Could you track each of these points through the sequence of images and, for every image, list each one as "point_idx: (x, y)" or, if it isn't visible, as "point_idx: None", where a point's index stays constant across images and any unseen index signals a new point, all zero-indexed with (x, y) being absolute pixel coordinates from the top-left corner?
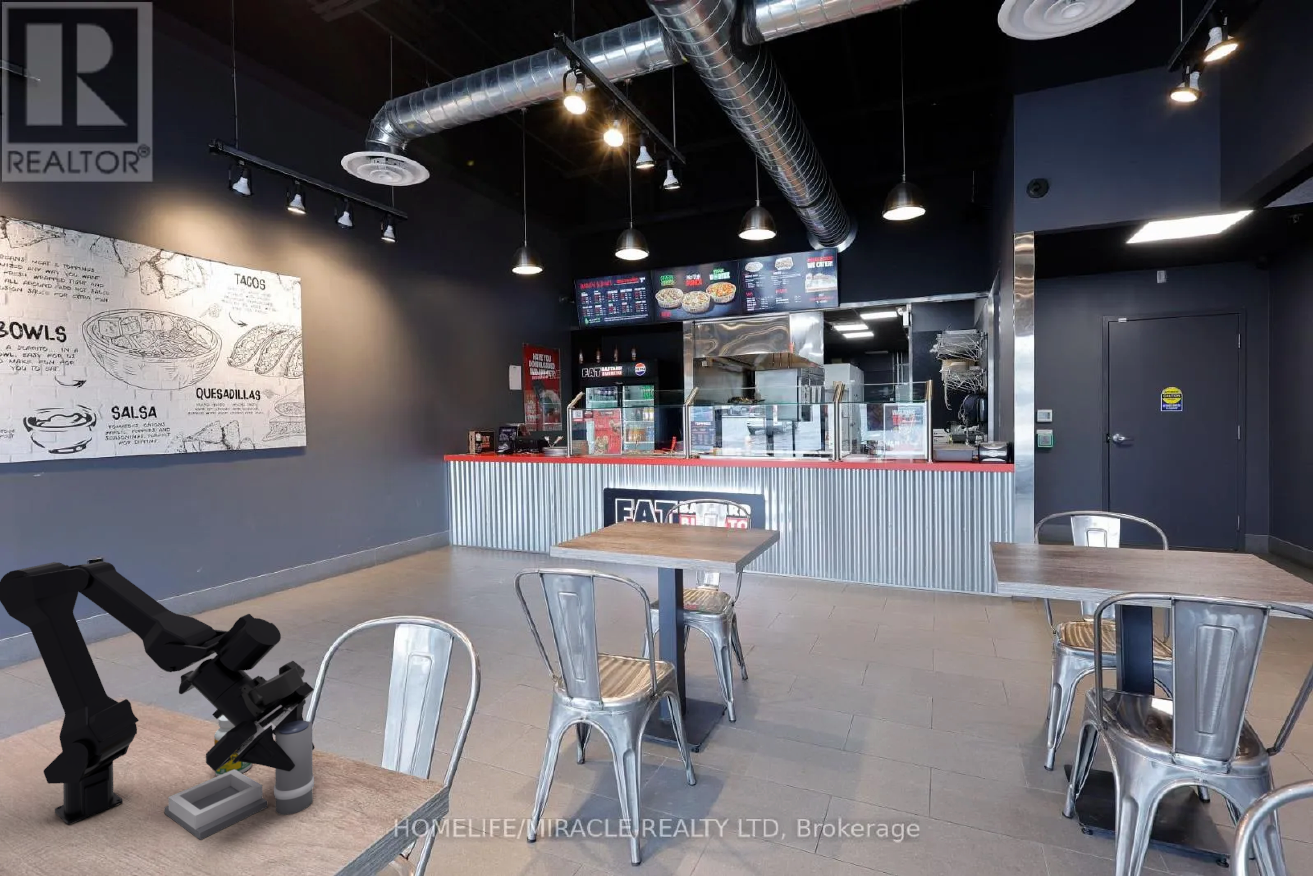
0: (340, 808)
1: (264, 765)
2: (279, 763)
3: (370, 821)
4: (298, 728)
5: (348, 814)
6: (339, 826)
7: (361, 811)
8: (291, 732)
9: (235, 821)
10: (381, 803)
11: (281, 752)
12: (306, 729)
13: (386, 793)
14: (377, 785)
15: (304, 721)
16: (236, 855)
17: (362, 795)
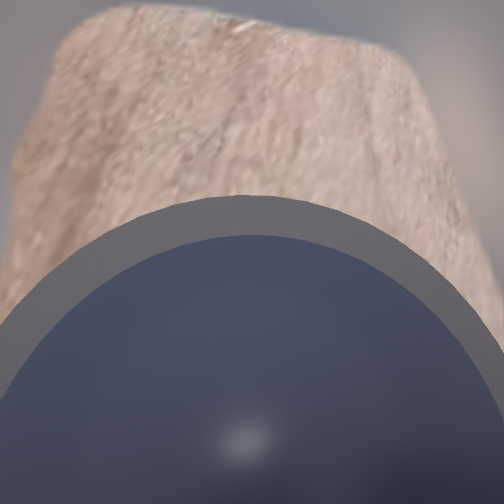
0: (221, 196)
1: None
2: None
3: (257, 83)
4: (317, 322)
5: (242, 155)
6: (294, 144)
7: (222, 130)
8: (452, 344)
9: None
10: (177, 100)
11: None
12: (249, 218)
13: (127, 114)
14: (86, 164)
15: (3, 466)
16: None
17: (147, 175)
